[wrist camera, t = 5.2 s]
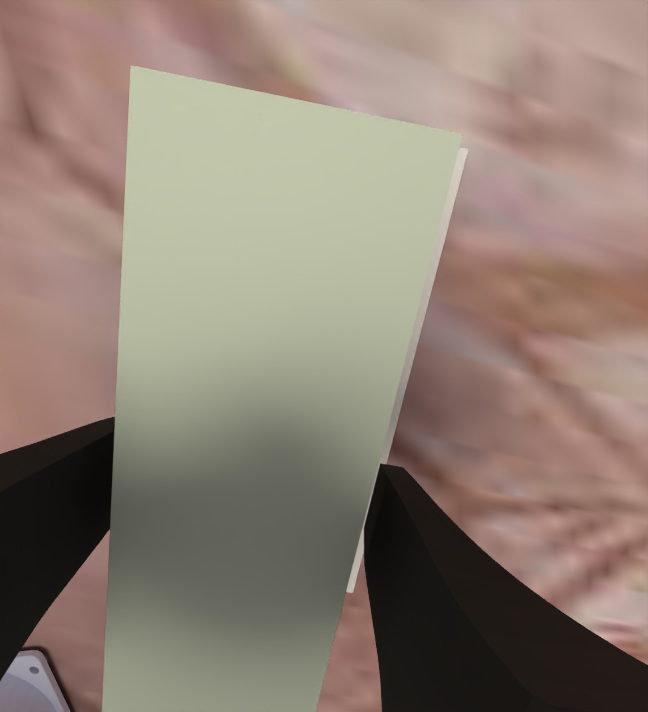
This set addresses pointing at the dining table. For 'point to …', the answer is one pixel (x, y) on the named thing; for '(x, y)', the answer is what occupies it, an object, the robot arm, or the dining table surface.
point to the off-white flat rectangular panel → (414, 338)
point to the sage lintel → (254, 381)
